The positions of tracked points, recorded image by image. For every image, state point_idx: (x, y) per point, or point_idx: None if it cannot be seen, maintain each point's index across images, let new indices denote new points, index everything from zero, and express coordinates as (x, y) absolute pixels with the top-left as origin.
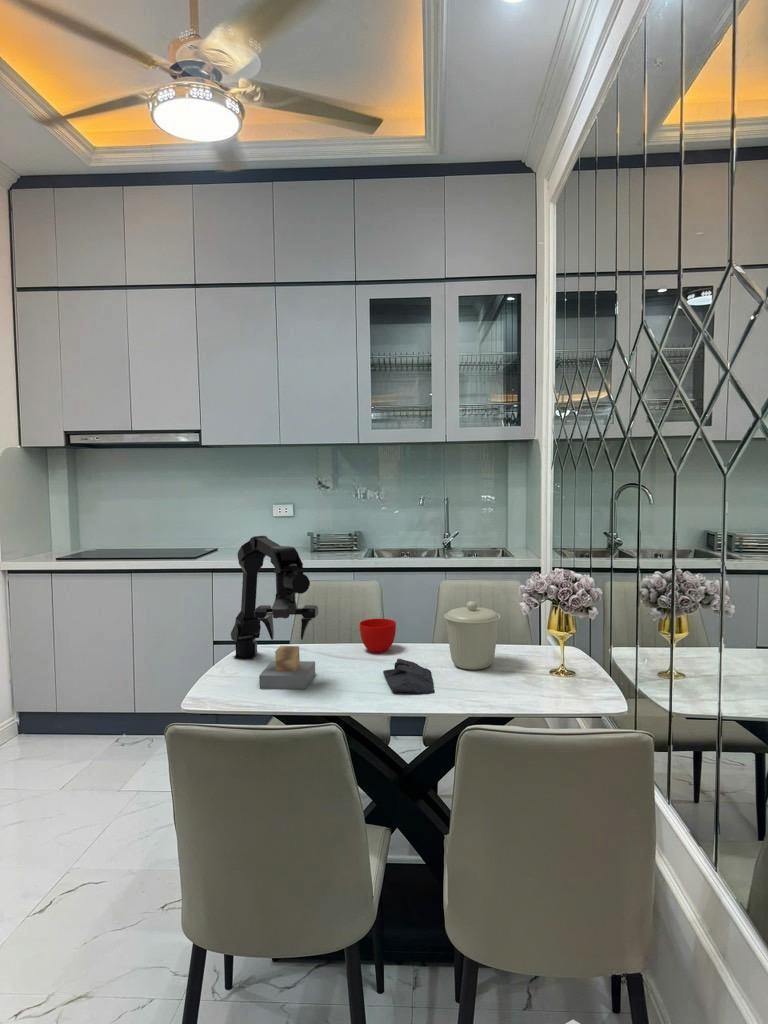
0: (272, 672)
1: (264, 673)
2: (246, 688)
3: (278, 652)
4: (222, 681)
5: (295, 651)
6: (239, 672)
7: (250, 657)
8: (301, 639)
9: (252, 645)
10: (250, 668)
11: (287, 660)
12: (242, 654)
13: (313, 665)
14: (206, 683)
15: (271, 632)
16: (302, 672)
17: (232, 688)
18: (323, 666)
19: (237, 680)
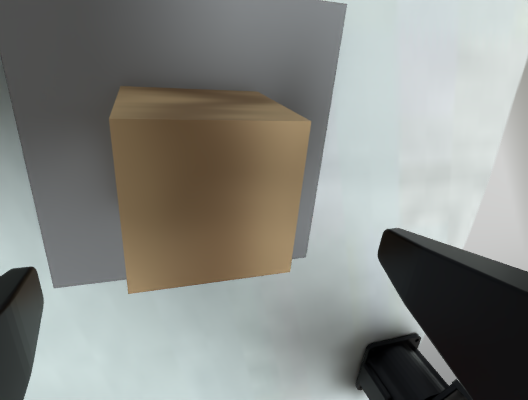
0: (273, 62)
1: (319, 43)
2: (370, 18)
3: (280, 119)
4: (459, 119)
5: (113, 147)
6: (401, 222)
7: (375, 346)
8: (26, 267)
9: (391, 391)
10: (367, 265)
11: (186, 101)
12: (403, 351)
13: (47, 240)
14: (510, 95)
15: (457, 262)
16: (50, 54)
17: (427, 23)
18: (65, 339)
19: (408, 133)
